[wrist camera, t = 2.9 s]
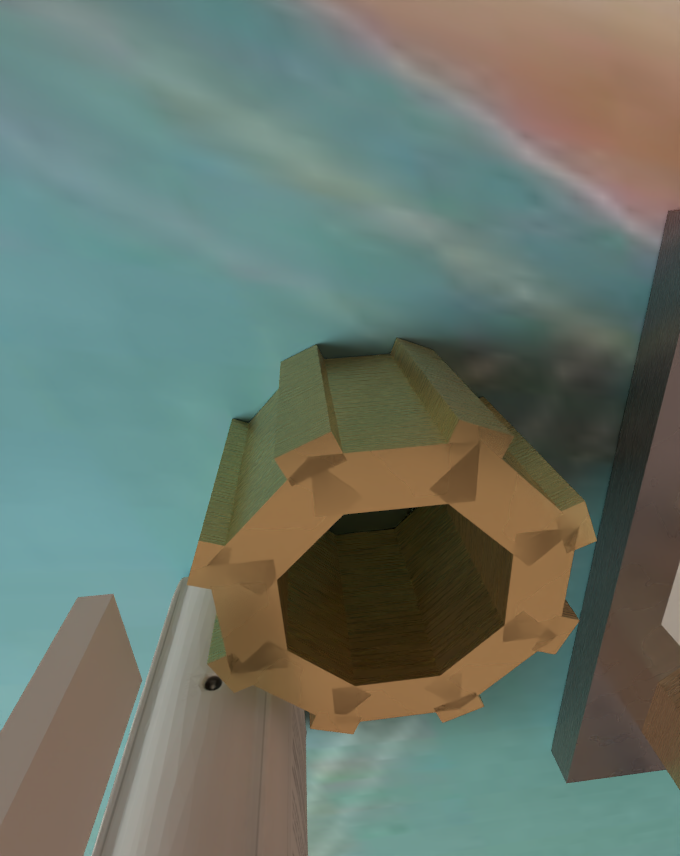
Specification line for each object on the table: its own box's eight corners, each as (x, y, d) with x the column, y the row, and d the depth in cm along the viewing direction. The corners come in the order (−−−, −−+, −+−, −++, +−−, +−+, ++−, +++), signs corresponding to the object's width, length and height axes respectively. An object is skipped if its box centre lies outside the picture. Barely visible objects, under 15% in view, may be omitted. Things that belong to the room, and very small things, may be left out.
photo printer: (166, 557, 17) (-68, 1216, 6) (286, 545, 17) (274, 1157, 6) (215, 737, 22) (133, 1307, 10) (310, 725, 22) (329, 1270, 11)
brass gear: (205, 353, 14) (151, 448, 9) (503, 329, 15) (626, 404, 9) (248, 585, 18) (229, 749, 13) (482, 559, 18) (560, 707, 13)
